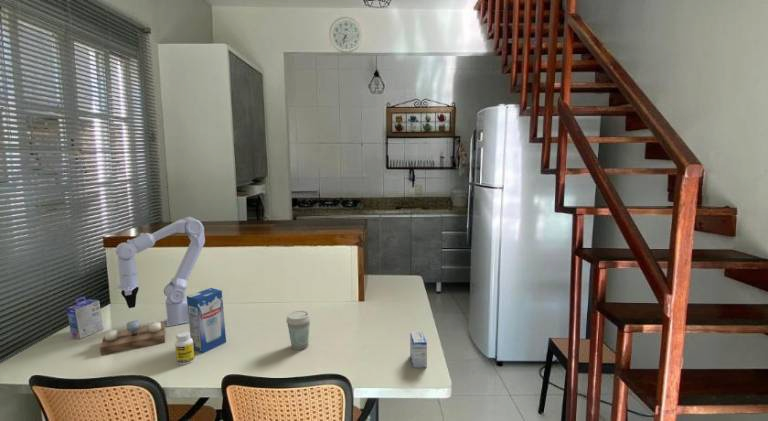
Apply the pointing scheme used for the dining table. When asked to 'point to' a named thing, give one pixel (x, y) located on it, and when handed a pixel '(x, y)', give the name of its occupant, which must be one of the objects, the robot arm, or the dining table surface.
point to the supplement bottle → (184, 348)
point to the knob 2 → (154, 327)
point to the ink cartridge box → (84, 318)
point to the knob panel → (133, 340)
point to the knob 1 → (111, 335)
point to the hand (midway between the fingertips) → (132, 307)
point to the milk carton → (206, 319)
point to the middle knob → (133, 326)
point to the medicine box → (418, 349)
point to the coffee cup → (299, 329)
